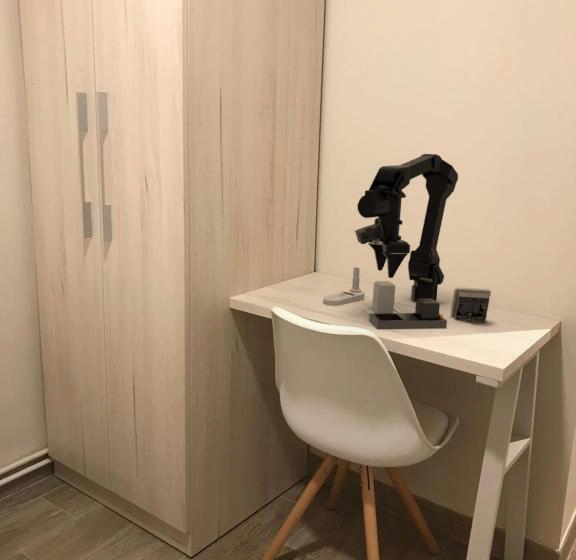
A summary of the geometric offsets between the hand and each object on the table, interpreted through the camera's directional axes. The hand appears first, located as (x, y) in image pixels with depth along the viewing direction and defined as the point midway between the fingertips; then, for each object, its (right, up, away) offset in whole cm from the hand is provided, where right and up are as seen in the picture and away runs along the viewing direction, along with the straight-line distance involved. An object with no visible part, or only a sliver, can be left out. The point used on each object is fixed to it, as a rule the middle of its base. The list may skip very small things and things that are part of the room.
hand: (385, 274), depth 165 cm
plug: (0, -10, +2) cm, 11 cm away
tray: (0, -11, +2) cm, 11 cm away
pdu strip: (+4, -13, -8) cm, 16 cm away
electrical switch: (+22, -13, -1) cm, 26 cm away
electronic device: (-10, -9, +14) cm, 19 cm away
